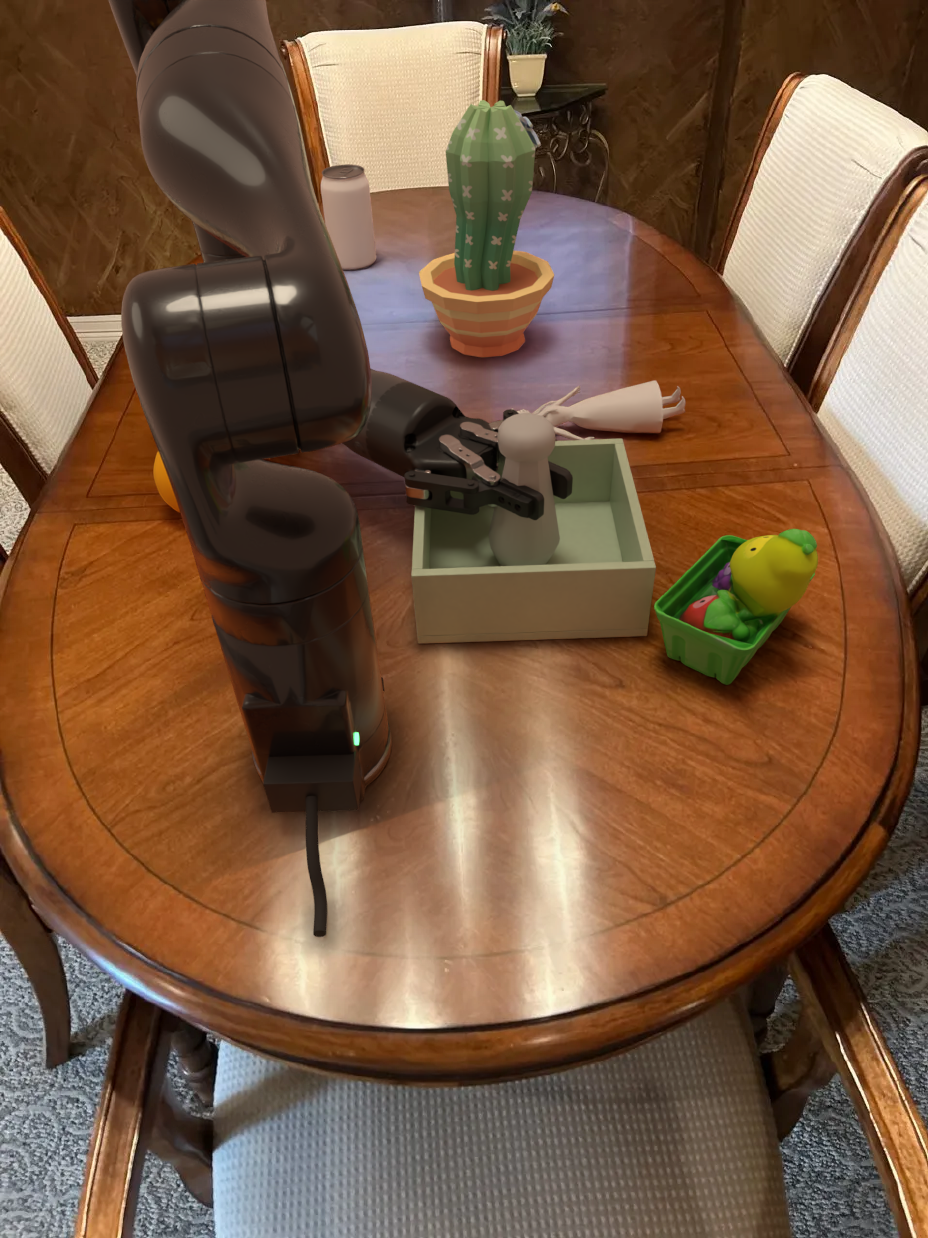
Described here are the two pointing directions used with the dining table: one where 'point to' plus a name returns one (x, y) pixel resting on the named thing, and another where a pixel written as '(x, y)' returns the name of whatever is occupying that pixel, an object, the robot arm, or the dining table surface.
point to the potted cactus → (488, 235)
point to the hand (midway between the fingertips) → (555, 497)
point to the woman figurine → (615, 410)
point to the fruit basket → (735, 600)
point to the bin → (541, 594)
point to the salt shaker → (527, 464)
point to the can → (349, 215)
